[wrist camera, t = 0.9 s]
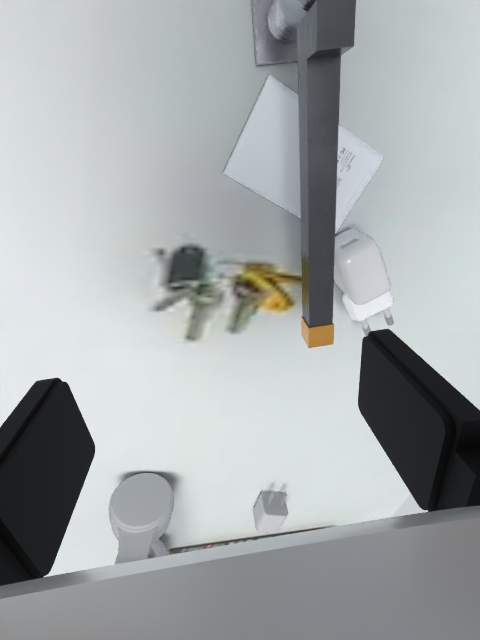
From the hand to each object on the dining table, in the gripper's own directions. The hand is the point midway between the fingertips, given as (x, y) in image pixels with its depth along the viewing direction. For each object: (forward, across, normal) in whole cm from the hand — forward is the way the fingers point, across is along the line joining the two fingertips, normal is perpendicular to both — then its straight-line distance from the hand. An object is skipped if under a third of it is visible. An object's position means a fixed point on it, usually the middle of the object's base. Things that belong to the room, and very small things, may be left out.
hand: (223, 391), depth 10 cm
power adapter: (+24, -15, +6) cm, 29 cm away
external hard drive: (+24, -9, -5) cm, 27 cm away
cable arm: (+17, -8, -4) cm, 19 cm away
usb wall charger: (+26, -3, +42) cm, 50 cm away
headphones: (+25, +17, +42) cm, 52 cm away
